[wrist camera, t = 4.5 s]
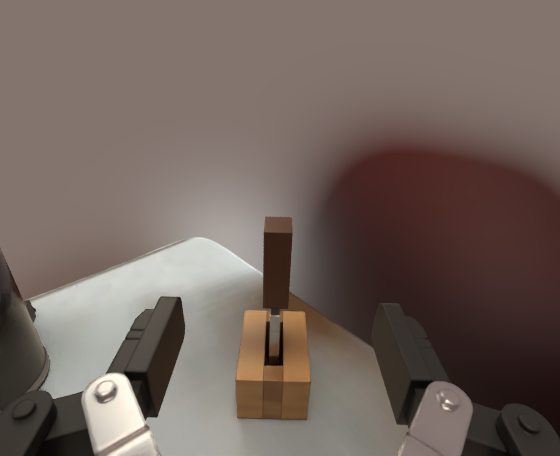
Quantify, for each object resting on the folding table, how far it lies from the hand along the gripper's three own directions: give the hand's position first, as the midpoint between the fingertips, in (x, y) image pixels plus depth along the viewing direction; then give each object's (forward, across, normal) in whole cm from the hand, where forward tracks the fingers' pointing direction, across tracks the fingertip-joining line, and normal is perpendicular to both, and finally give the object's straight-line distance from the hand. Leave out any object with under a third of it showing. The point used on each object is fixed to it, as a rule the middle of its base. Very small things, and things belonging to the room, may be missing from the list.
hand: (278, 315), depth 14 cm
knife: (+11, 0, +19) cm, 22 cm away
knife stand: (+11, 0, +19) cm, 22 cm away
